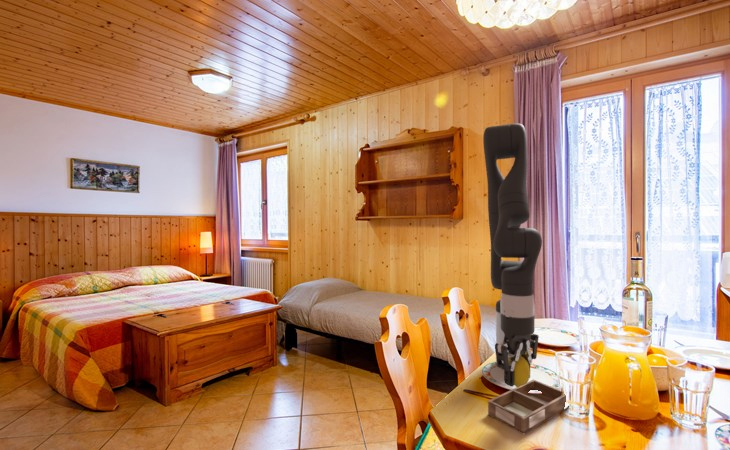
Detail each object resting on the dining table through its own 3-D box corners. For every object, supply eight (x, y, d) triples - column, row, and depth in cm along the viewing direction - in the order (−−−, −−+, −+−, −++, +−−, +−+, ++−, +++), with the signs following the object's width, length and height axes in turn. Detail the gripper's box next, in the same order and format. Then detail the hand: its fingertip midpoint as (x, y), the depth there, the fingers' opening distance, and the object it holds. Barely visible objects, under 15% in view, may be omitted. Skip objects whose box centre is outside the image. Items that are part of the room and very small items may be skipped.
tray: (533, 392, 103) (533, 379, 103) (569, 407, 95) (569, 394, 95) (487, 415, 93) (487, 401, 93) (524, 434, 85) (524, 419, 84)
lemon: (532, 393, 88) (532, 359, 87) (507, 391, 89) (507, 358, 89) (527, 382, 93) (527, 350, 93) (503, 380, 94) (503, 349, 94)
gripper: (521, 303, 97) (521, 368, 98) (484, 313, 89) (484, 383, 90) (549, 310, 91) (549, 378, 92) (512, 321, 83) (512, 396, 84)
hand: (517, 380), depth 91 cm, fingers closed on lemon, 5 cm apart
